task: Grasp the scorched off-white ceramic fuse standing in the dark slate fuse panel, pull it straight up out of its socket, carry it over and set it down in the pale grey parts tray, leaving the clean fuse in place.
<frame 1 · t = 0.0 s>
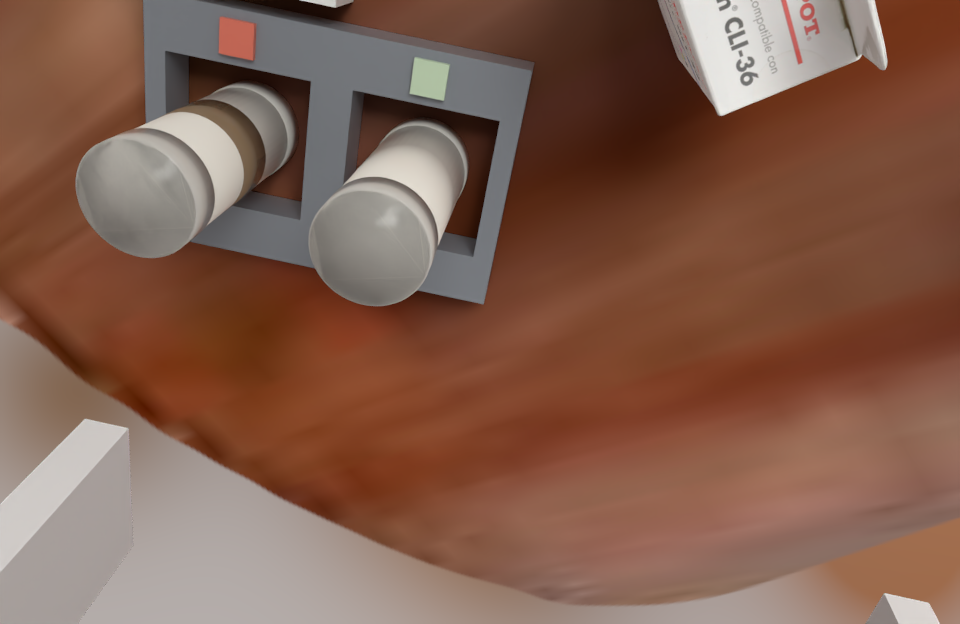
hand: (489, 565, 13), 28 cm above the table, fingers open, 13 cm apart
fuse panel: (339, 145, 39), on the table
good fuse: (424, 163, 39), resting in fuse panel
blown fuse: (254, 127, 39), resting in fuse panel
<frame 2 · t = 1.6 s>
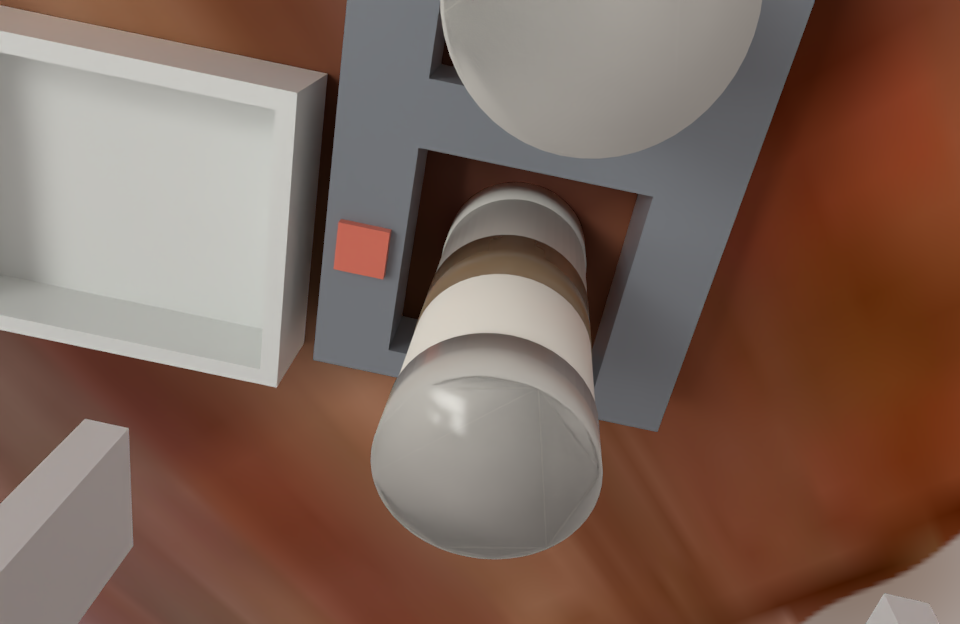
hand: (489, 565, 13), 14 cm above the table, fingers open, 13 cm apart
fuse panel: (544, 119, 24), on the table
parts tray: (144, 184, 26), on the table
blown fuse: (515, 248, 26), resting in fuse panel
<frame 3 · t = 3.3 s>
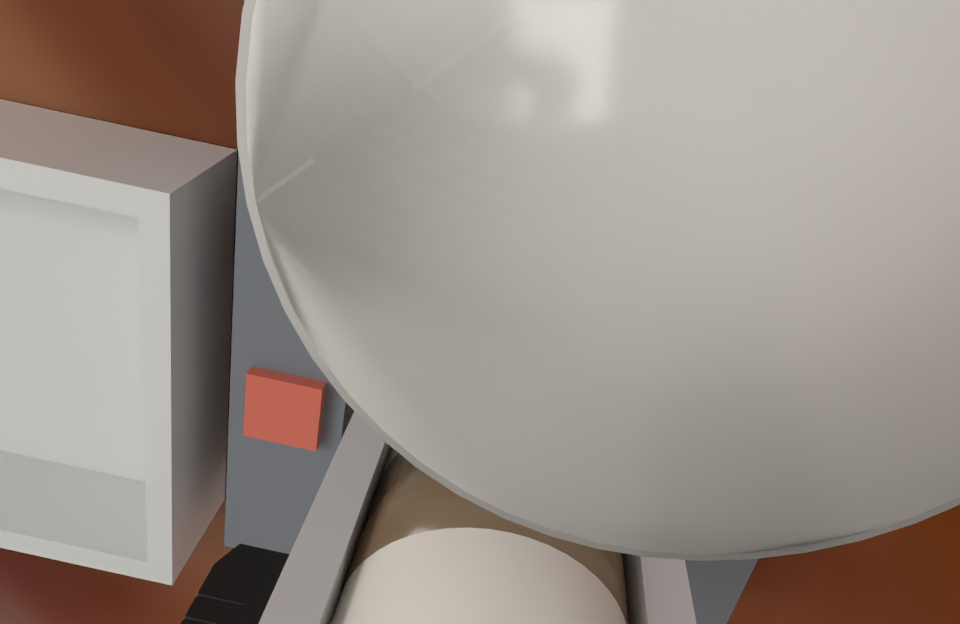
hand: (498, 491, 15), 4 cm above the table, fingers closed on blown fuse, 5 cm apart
fuse panel: (554, 217, 16), on the table
blown fuse: (511, 390, 18), resting in fuse panel, touching gripper
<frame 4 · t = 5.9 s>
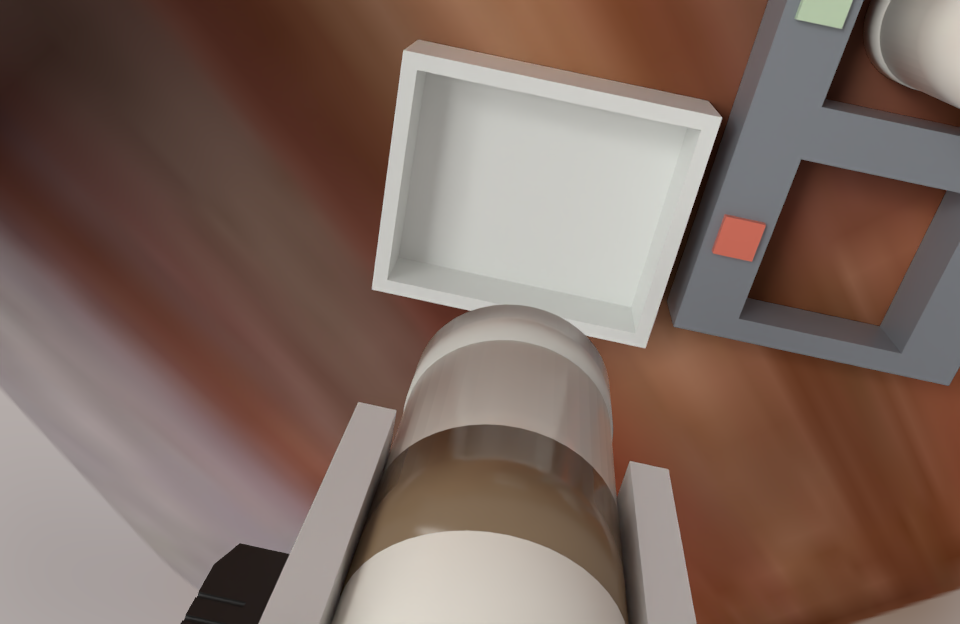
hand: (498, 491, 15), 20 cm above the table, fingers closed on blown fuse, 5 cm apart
fuse panel: (878, 136, 30), on the table
parts tray: (536, 186, 33), on the table
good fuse: (929, 20, 28), resting in fuse panel
blown fuse: (511, 391, 18), point 16 cm above the table, touching gripper
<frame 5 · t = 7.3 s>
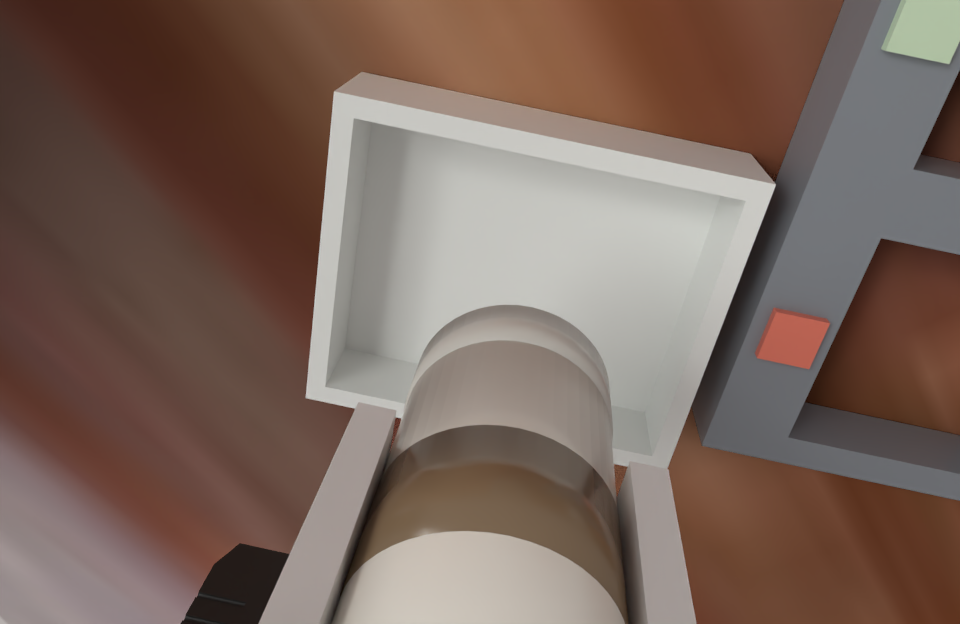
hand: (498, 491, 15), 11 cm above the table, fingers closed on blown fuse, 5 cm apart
parts tray: (521, 261, 25), on the table
blown fuse: (511, 391, 18), point 8 cm above the table, touching gripper
when the fingers open (6 cm above the table, at t = 8.7 s): blown fuse drops 1 cm, resting on parts tray.
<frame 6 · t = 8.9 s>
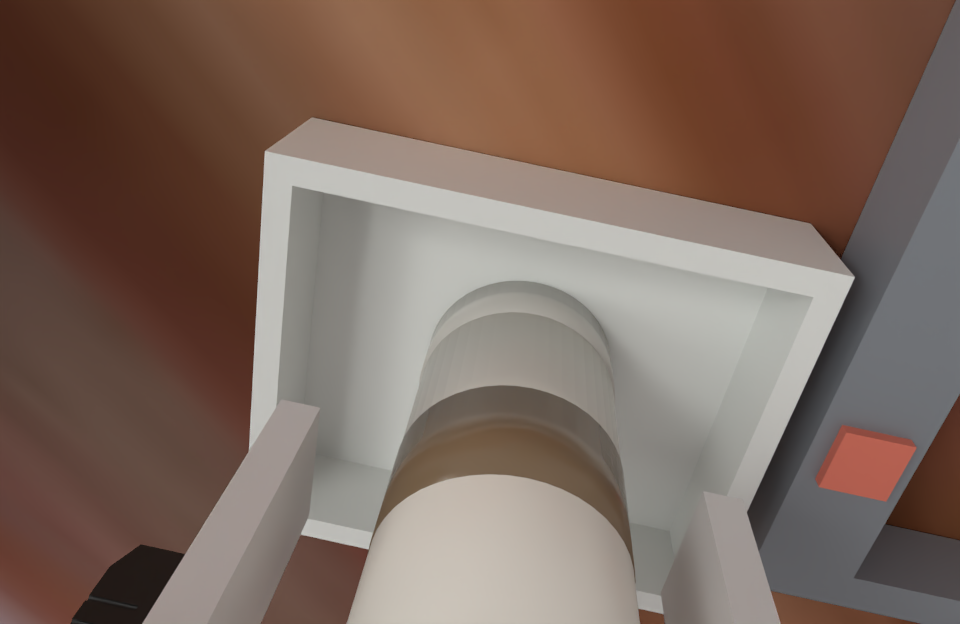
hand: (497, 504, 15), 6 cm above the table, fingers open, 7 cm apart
parts tray: (517, 350, 20), on the table
blown fuse: (518, 363, 20), point 1 cm above the table, touching parts tray
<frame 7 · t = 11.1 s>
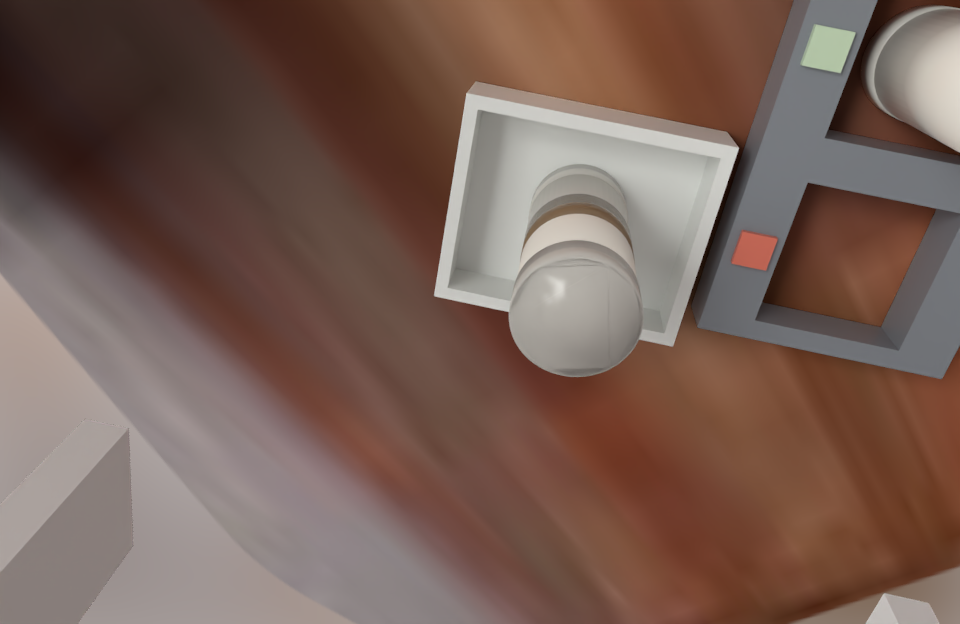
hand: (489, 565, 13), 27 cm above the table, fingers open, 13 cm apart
fuse panel: (876, 161, 35), on the table
parts tray: (576, 206, 38), on the table
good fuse: (918, 62, 33), resting in fuse panel
blown fuse: (578, 210, 37), point 1 cm above the table, touching parts tray
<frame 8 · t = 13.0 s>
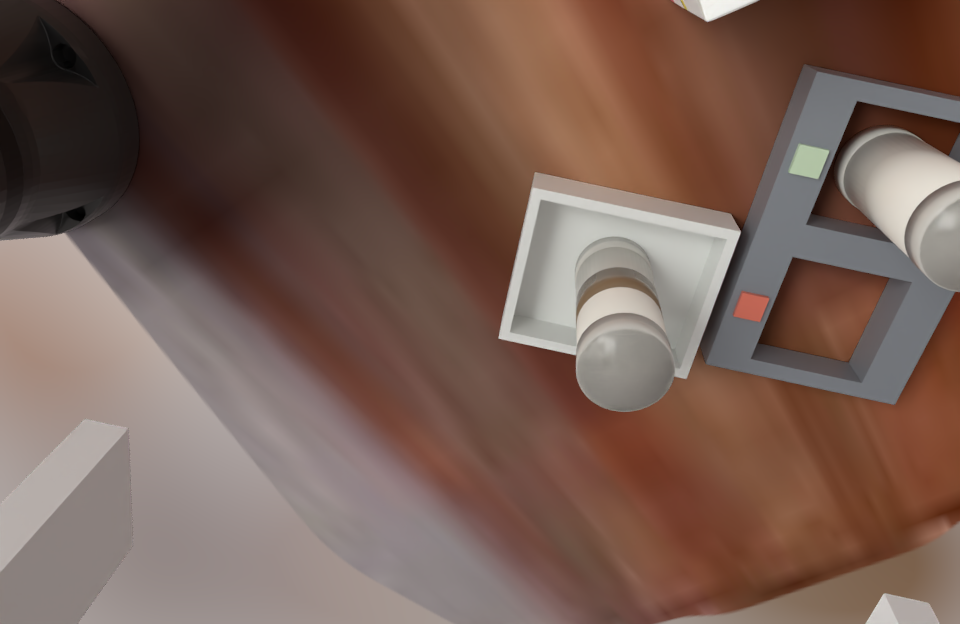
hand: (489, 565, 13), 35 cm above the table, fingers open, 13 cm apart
fuse panel: (845, 238, 45), on the table
parts tray: (610, 267, 48), on the table
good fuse: (877, 166, 43), resting in fuse panel
blown fuse: (612, 271, 47), point 1 cm above the table, touching parts tray
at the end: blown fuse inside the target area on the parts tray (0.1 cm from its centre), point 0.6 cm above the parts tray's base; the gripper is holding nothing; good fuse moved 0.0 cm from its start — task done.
